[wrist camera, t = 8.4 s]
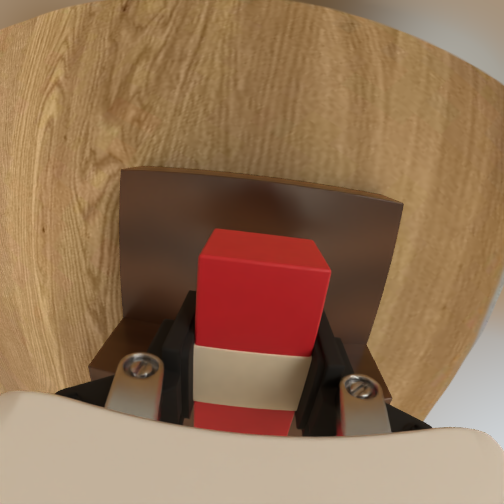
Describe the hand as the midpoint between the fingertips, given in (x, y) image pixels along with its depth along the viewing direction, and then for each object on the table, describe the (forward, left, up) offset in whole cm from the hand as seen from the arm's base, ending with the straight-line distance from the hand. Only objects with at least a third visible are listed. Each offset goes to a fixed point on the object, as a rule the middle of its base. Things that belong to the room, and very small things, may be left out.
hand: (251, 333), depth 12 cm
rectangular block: (0, 0, 0) cm, 0 cm away
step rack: (+5, 0, -12) cm, 13 cm away
